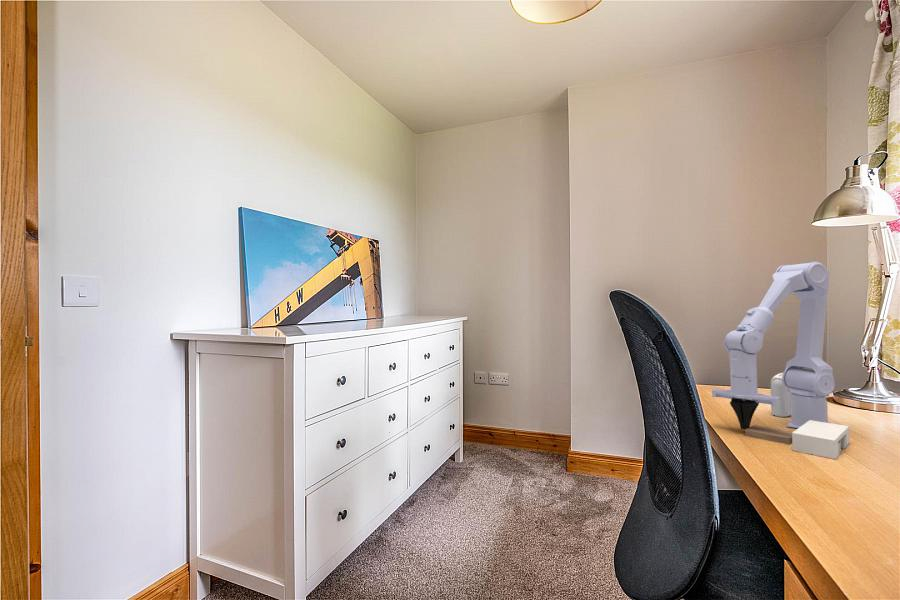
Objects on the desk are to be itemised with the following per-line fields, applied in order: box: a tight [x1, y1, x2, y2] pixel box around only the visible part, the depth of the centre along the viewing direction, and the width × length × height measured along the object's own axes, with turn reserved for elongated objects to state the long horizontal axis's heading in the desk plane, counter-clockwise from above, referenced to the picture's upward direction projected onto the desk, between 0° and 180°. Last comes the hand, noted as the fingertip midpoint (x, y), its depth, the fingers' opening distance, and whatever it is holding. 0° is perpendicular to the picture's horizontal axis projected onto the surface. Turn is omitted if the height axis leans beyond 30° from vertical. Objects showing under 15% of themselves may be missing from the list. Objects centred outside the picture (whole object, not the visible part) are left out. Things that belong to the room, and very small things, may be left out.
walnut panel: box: [744, 424, 793, 446], centre depth 104 cm, size 7×9×2 cm
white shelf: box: [791, 420, 851, 460], centre depth 97 cm, size 16×7×4 cm, turn 128°
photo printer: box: [770, 372, 791, 418], centre depth 125 cm, size 10×4×12 cm, turn 123°
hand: (745, 428), depth 108 cm, fingers closed
